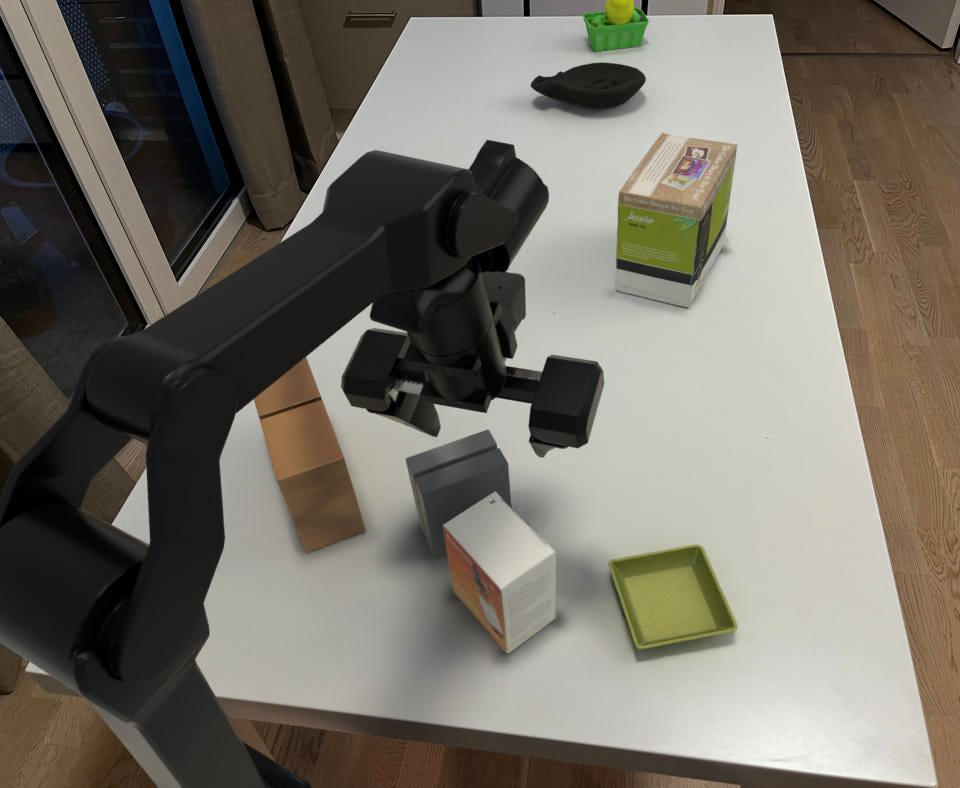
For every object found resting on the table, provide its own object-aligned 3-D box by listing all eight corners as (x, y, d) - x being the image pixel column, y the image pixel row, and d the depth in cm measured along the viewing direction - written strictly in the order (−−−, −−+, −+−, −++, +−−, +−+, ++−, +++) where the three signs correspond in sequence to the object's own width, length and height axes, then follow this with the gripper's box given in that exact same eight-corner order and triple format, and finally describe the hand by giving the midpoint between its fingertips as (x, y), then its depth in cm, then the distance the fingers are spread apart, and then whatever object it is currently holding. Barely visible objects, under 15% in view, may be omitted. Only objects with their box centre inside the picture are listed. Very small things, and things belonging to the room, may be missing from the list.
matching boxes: (306, 553, 76) (276, 481, 68) (272, 437, 87) (243, 364, 79) (366, 531, 77) (344, 457, 69) (325, 420, 88) (302, 345, 81)
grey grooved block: (435, 560, 74) (421, 494, 67) (419, 524, 77) (405, 458, 70) (513, 530, 76) (508, 463, 69) (495, 496, 79) (488, 428, 72)
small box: (452, 592, 72) (439, 523, 64) (501, 558, 74) (494, 488, 66) (507, 657, 67) (499, 591, 59) (557, 619, 69) (556, 550, 61)
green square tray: (699, 555, 72) (701, 542, 71) (736, 642, 66) (740, 629, 65) (606, 572, 72) (607, 560, 70) (635, 662, 66) (636, 649, 64)
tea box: (652, 229, 109) (661, 128, 99) (725, 245, 106) (742, 142, 95) (612, 292, 100) (617, 188, 90) (689, 311, 97) (704, 205, 86)
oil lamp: (532, 86, 145) (531, 58, 141) (640, 81, 143) (642, 53, 139) (530, 124, 134) (529, 96, 131) (647, 119, 132) (649, 90, 129)
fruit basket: (637, 33, 158) (641, -28, 150) (650, 50, 152) (654, -13, 144) (581, 40, 158) (582, -21, 150) (591, 58, 151) (593, -5, 143)
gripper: (617, 246, 53) (623, 379, 66) (368, 221, 59) (418, 347, 72) (576, 381, 48) (592, 498, 60) (306, 338, 53) (372, 453, 66)
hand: (489, 441), depth 65 cm, fingers open, 9 cm apart
